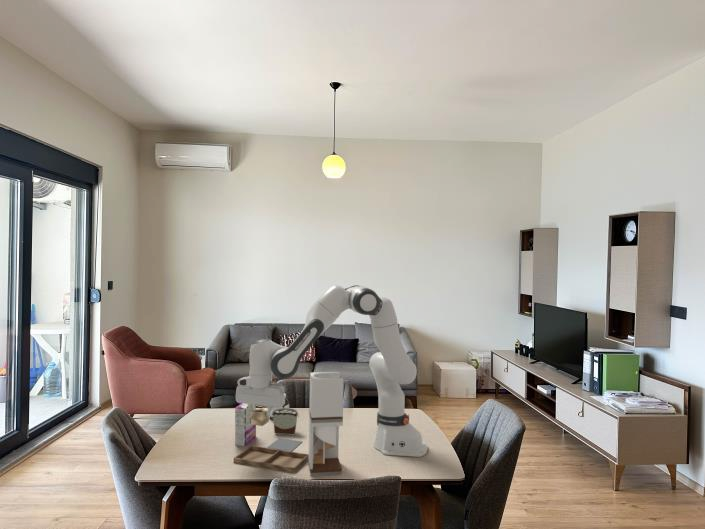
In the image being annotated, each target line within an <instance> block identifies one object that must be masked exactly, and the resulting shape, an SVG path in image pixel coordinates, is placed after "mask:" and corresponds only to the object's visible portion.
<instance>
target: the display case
mask: <svg viewBox="0 0 705 529" xmlns="http://www.w3.org/2000/svg"><path fill="white" fill-rule="evenodd" d="M340 375H341V374H340V371H326V372H325V371H324V372H323V371H319V372H318V371H317V372H314V371H313V372H309V410H308V412H309V413H308V416H309V418H308V454H309V459H308V460H307V461H308V464H307V465H308V470H309V474H310V475H309V476H310V477H323V476H341V475H343V467H342V465H341V462H340V459H339V434H340V433H339V432H340V428H339V427H340V426H341V427H342V426H344V422H343V420H344V419H343V418H344V380H345V379H344V377H341V376H340Z"/></svg>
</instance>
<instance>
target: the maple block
mask: <svg viewBox="0 0 705 529" xmlns="http://www.w3.org/2000/svg"><path fill="white" fill-rule="evenodd" d="M267 411H268V409H267V408H261V407H256V409H255V410H253V411H252V412H251V425H256V426H258V427H263V426H265V425H266V424H268V423H270V420H269V419H270V417H265V412H267Z"/></svg>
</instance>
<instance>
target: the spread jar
mask: <svg viewBox="0 0 705 529" xmlns="http://www.w3.org/2000/svg"><path fill="white" fill-rule="evenodd" d="M284 394H285V404H284V405H283V406H282V407H280V408H278V407H273V408H272V410H271V412H270V417H269V418H271V419H272V420H273V415H272V413H273V411H274V410H276V409H281V408H290V403H289V402H290V401H289V400H288V399H287V396H286V392H284Z"/></svg>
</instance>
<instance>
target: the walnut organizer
mask: <svg viewBox="0 0 705 529" xmlns="http://www.w3.org/2000/svg"><path fill="white" fill-rule="evenodd" d="M308 460H309V453H302V452H296V451H292V452H290V451H284V450H277V449H271V448H267V447H263V446H258V445H257V446H256V445H250V446H249V447H247V448H246V449H244V450H242V451H241V452H240V453H239V454H237V455H236V456H234V457H233V463H234V464H240V465H244V466H245V465H246V466H250V467H251V466H252V467H257V468H263V469H267V470H274V471H279V472H286V473H293V474H295V473H296V472H297V471H298V470H299V469H300V468H301V467H303V466H304V464H306V462H307V461H308Z"/></svg>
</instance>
